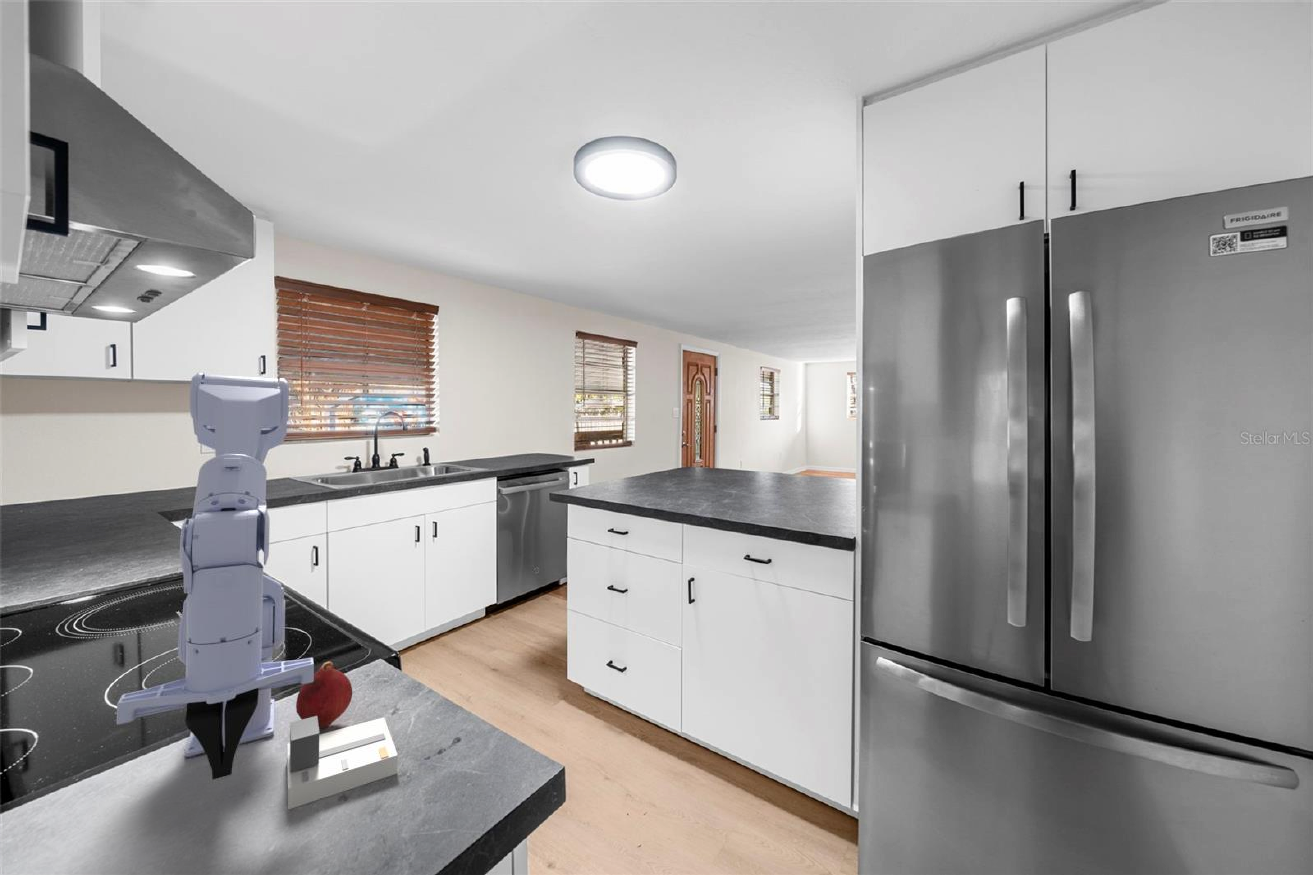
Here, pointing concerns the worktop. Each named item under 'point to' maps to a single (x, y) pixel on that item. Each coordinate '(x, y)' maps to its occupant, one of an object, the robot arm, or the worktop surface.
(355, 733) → the console
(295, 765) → the fader knob
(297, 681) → the robot arm
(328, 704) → the onion
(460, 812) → the worktop surface
